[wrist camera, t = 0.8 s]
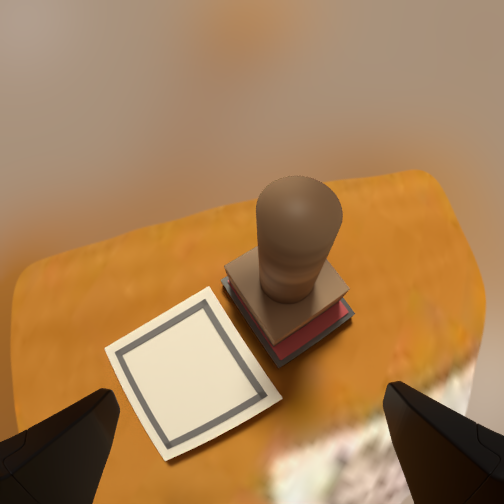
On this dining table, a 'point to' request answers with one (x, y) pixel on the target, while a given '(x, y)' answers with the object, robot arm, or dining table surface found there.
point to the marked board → (190, 375)
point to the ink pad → (300, 338)
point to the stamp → (290, 257)
